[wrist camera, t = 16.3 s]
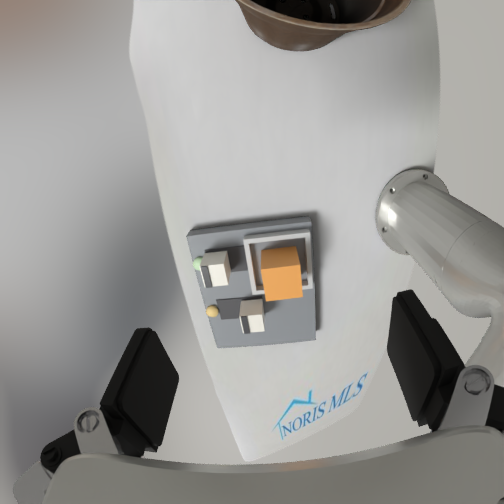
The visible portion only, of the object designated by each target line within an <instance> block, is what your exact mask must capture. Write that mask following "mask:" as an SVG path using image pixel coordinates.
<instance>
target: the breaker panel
mask: <svg viewBox="0 0 504 504" xmlns="http://www.w3.org/2000/svg"><path fill="white" fill-rule="evenodd" d="M186 237H187V241H188V245H189V249H190V253H191V257H192V260H193V267H194V268H195V272H196V276H197V279H198V283H199V287H200V290H201V294H202V297H203V301H204V305H205V308H206V314H207V315H208V318H209V322H210V325H211V328H212V332H213V335H214V338H215V342H216V345H217V348H230V347H247V346H261V345H273V344H283V343H293V342H302V341H311V340H316V321H315V283H314V259H313V241H312V225H311V220H310V217H309V216H307V217H298V218H288V219H279V220H271V221H262V222H253V223H245V224H237V225H229V226H221V227H213V228H206V229H198V230H191V231H189V233H188V235H187V236H186ZM291 246H296V248H297V253H298V257H299V262H300V268H301V280H302V292H303V297H299V298H291V299H283V300H274V301H266V299H265V292H264V286H263V280H262V274H261V250H267V249H275V248H283V247H291ZM220 251H227V253H228V258H229V263H230V268H231V273H230V278H229V283H228V285H225V286H214V287H212V288H206V287H204V283H203V279H202V275H201V271H200V268H199V266H200V263H201V261H202V258H203V256H204V253H211V252H220ZM257 299H262V301H263V307H264V314H265V331H263V332H250V334H244V333H243V331H242V327H241V322H240V318H239V314H240V306H241V301H246V300H257Z"/></svg>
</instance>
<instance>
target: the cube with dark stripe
mask: <svg viewBox="0 0 504 504" xmlns="http://www.w3.org/2000/svg"><path fill="white" fill-rule="evenodd" d="M239 318H240V322H241V327H242V331H243V333H244V334H250V332H263V331H265V314H264V307H263V301H262V299H257V300H246V301H241V306H240V314H239Z"/></svg>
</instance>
